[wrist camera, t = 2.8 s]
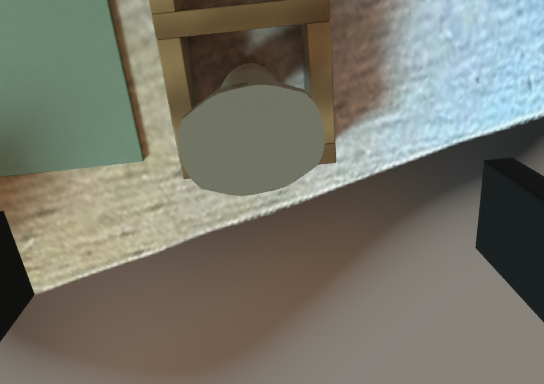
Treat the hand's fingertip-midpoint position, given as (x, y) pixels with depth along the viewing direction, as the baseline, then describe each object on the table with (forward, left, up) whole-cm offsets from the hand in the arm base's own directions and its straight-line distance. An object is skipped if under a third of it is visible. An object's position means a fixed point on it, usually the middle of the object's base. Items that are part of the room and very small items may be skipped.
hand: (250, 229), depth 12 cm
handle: (0, 0, -23) cm, 23 cm away
